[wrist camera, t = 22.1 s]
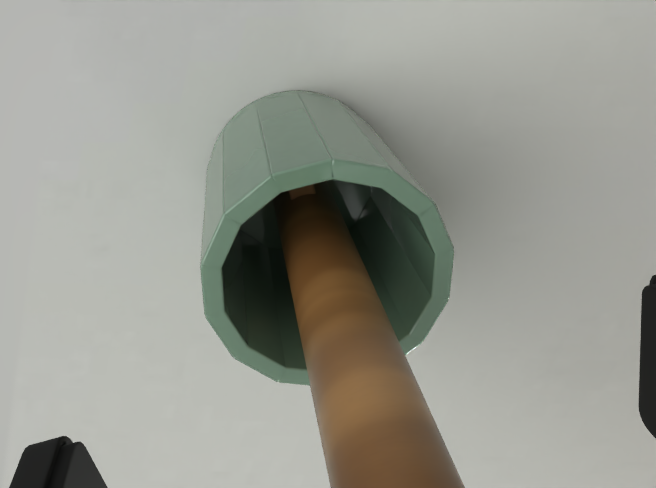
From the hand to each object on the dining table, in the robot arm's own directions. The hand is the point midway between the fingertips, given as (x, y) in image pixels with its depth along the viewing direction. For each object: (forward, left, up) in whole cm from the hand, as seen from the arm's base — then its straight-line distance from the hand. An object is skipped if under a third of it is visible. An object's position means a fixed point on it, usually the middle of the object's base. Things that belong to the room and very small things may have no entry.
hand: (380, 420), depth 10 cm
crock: (0, 0, -13) cm, 13 cm away
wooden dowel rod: (+1, 0, -13) cm, 13 cm away
